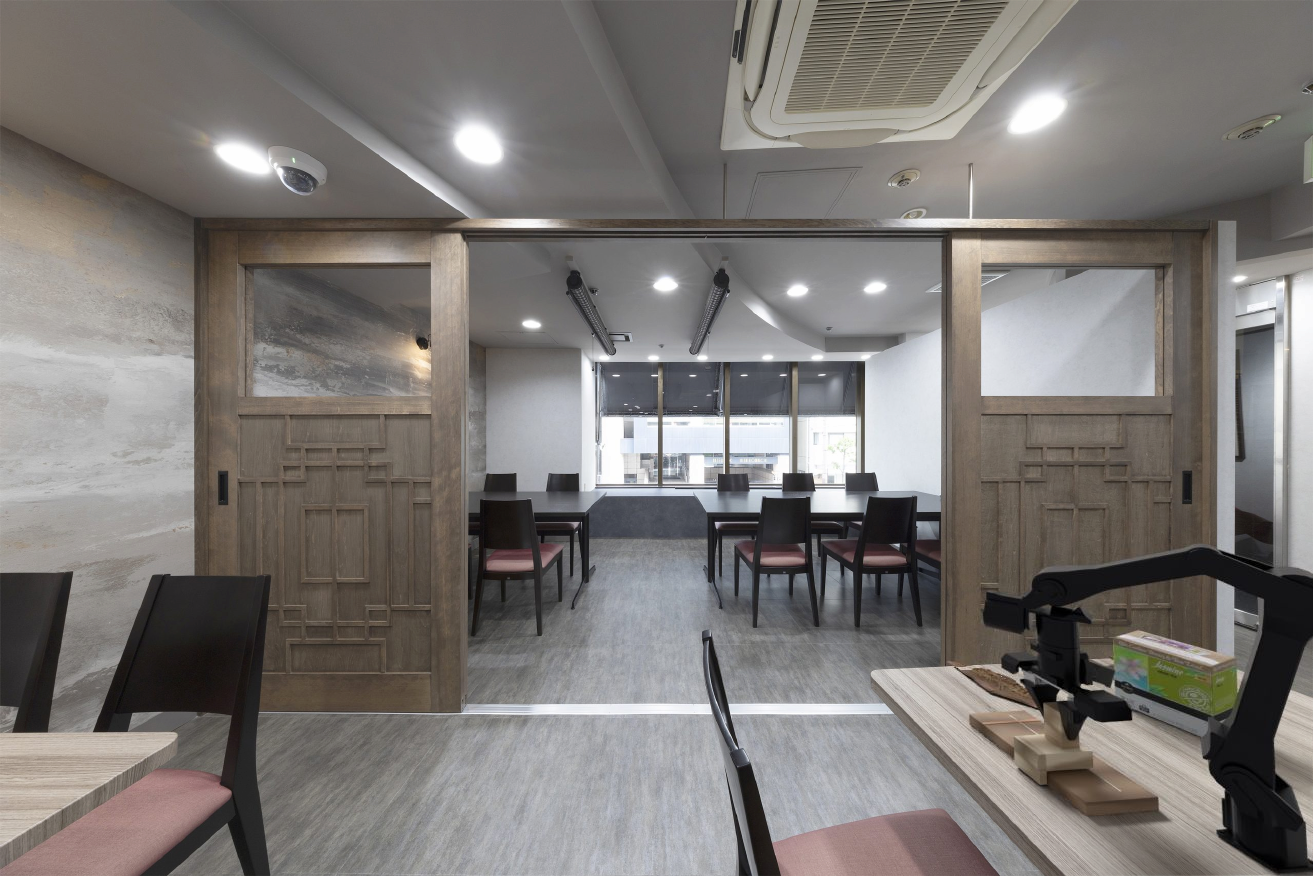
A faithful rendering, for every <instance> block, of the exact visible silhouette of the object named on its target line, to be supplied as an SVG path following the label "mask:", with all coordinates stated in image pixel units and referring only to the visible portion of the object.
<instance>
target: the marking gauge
mask: <svg viewBox="0 0 1313 876" xmlns="http://www.w3.org/2000/svg"><path fill="white" fill-rule="evenodd" d="M1043 704H1044V718H1043V723H1044V730H1045V734H1039V735H1024V736H1014V758H1015V759H1014V758H1013V759H1014V765H1015V767H1018V769H1019V770H1021V771H1022V772H1024V773H1025V774H1026V775H1027V776H1029V777H1030V778H1031V779H1032V780H1034V782H1036V783H1037V784H1038V785H1047V773H1046V771H1058V770H1072V769H1086V768H1093V755H1094V751H1093V750H1092V749H1091V748H1089V747H1087V746H1086V745H1084V744H1082V743H1081V742H1080V733H1079V734H1078V736H1077V738H1076V740H1074V741H1070V740H1068V739H1067V736H1066V733H1065V731H1064V727H1063V723H1062V720H1061V716H1060V712H1059V709H1058V705H1057V702H1049V703H1043Z"/></svg>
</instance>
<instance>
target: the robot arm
mask: <svg viewBox="0 0 1313 876" xmlns="http://www.w3.org/2000/svg"><path fill="white" fill-rule="evenodd" d="M1197 576H1207V577H1209V578H1212V579H1214V580H1217V581H1219V582H1221V583H1223V584H1226V585H1228V586H1231V587H1233V588H1234V589H1235V588H1236V589H1237V590H1240V591H1242V592H1244V593H1246V594H1249V595H1252V596H1254V597H1257V613H1258V614H1257V615H1258V627H1257V631H1256V635H1255V638H1254V641H1253V644H1252V647H1251V650H1250V653H1249V656H1248V659H1247V662H1246V666H1245V669H1244V672H1243V676H1242V679H1241V681H1240V684H1239V688H1238V694H1237V697H1236V700H1235V703H1234V706H1233V710H1232V713H1231V714H1230V716H1229V717H1228V718H1227V719H1226V720H1224V721H1223V722H1222V723H1221V722H1219V721H1217V720H1215V719H1213V718H1211V717H1208V730H1207V732H1206V734H1205V735H1204V736H1203V737H1200V744H1201V745H1200V746H1201V756H1202V759H1203V760H1206V761H1207V764H1208V771H1209V774H1210V776H1211V777H1212V778H1213V779H1214V781H1215V782H1216V784H1218V785H1219V786H1220V787H1222V788H1223V789H1224V790H1223V791H1224V797H1221V798H1220V799H1221V801H1220V802H1221V813H1222V814H1221V818H1222V822H1221V823H1222V826H1223V828H1220V829H1216V830H1215V831H1216V835H1217V836H1219V837H1220V838H1221V839H1223V840H1225V841H1226V842H1228V843H1230V844H1231V845H1232V846H1234V847H1236V848H1237V849H1238V850H1240V851H1242V852H1243V853H1246V854H1247V855H1248V856H1250V857H1252V858H1253V859H1254V860H1255V861H1257V860H1258V861H1257V862H1259V863H1260V864H1262V865H1263V866H1265V867H1267V868H1268V869H1269V870H1271V871H1273V872H1275V873H1278V874H1284V873H1287V874H1288V873H1296V872H1297V873H1298V872H1306V871H1307V872H1308V871H1313V860H1312V859H1310V858H1309V857H1308V855H1309V853H1308V837H1307V822H1306V821H1305V820H1304V816H1303V814H1302V811H1301V809H1300V806H1299V802H1298V800H1297V797H1296V794H1295V790H1294V788H1293V786H1292V785H1291V784H1290V783H1288V782H1287V781H1286V779H1284V778H1283V777H1281V776H1280V775H1279V774H1278V773H1277V772H1276V755H1275V754H1276V753H1275V738H1276V734H1277V732H1278V729H1279V726H1280V723H1281V720H1282V716H1283V714H1284V712H1285V711H1284V710H1285V709H1286V705H1287V702H1288V698H1289V696H1290V693H1291V690H1292V687H1293V684H1294V681H1295V677H1296V675H1297V672H1298V669H1299V666H1300V664H1301V663H1300V662H1301V661H1302V657H1303V655H1304V650H1305V649H1306V648H1305V647H1306V646H1307V645H1308V644H1309V642H1311V641H1312V640H1313V573H1312V572H1310V571H1309V570H1306V569H1303V568H1300V567H1296V566H1295V567H1294V566H1287V565H1285V566H1273V565H1271V564H1267V563H1264V562H1262V561H1258V560H1255V559H1252V558H1249V557H1245V556H1242V555H1238V554H1234V553H1231V552H1228V551H1225V550H1222V549H1219V548H1217V547H1215V546H1212V545H1210V544H1207V543H1206V544H1205V543H1194V544H1190V545H1188V546H1186V547H1183V548H1176V549H1172V550H1167V551H1161V552H1157V553H1150V554H1147V555H1142V556H1141V555H1140V556H1137V557H1131V558H1126V559H1120V560H1117V561H1111V562H1106V563H1100V564H1093V565H1092V564H1091V565H1086V564H1085V565H1082V564H1081V565H1080V564H1079V565H1078V564H1074V565H1073V564H1068V565H1067V564H1066V565H1050V566H1047V567H1044V568H1042V569H1041V570H1040V571H1039V572H1037V574H1036V575H1035V576H1034V577H1033V579H1032V581H1031V590H1026V592H1025V593H1024V594H1022V595H1015V594H1009V593H1004V592H1000V591H997V590H993V589H989V590H988V591H987V592H986V593H985V601H984V605H983V606H984V608H983V610H982V619H983V620H982V621H983V623H984V626H985V627H986V628H991V629H995V630H999V631H1003V632H1008V633H1013V634H1016V635H1022V636H1023V635H1024V636H1025V633H1026V631H1030V632H1031V631H1032V630H1033V627H1034V617H1035V638H1036V639H1035V640H1036V642H1031V643H1030V650H1033V651H1034V652H1036V655H1033V654H1031V653H1029V652H1027V651H1023V652H1022V651H1021V652H1005V653H1004V654H1003V655H1002V657H1001V659H1000V661H1001V664H1000V665H1001V669H1003V670H1004V671H1006V672H1008V673H1010V674H1011V675H1016V674H1018V673H1020V671H1021V672H1022V675H1023V678H1020V679H1019V683H1020V684H1022V686H1023V687H1024V688H1026V690H1027V691H1028V693H1029V694H1030V696H1031V697H1032V699H1033V701H1034V702H1035V704H1036V706H1037V708H1036V709H1038V711H1039V713H1040V714H1041V716H1042V719H1044V704H1043V703H1049V702H1057V705H1058V709H1059V712H1060V716H1061V720H1062V723H1063V727H1064V731H1065V733H1066V736H1067V739H1068V740H1070V741H1074V740H1076V738H1077V736H1078V734H1079V735H1080V731H1081V730H1082V728H1083V726H1084V724H1085V722H1086V720H1087V718H1089V719H1091V720H1092V721H1095V722H1097V723H1101V724H1102V723H1119V722H1132V721H1133V709H1132V708H1131V706H1130V705H1129V704H1128V703H1127V702H1126V701H1125V700H1123V699H1121V698H1119V697H1117V696H1115V694H1113V693H1110V692H1109V691H1107V690H1105V689H1094V690H1090V689H1088V688H1084V687H1082V685H1085V686H1093V685H1094V683H1096V684H1100V685H1104V687H1106V688H1109V689H1112V685H1113V683H1114V674H1115V670H1114V669H1112V668H1109V667H1107V666H1108V665H1105V664H1102V663H1100V662H1097V661H1095V660H1093V659H1090V657H1089V655H1088V653H1087V652H1085V651H1083V650H1081V645H1080V644H1081V641H1080V624H1079V623H1082V624H1087V625H1091V624H1093V622H1094V619H1095V616H1094V615H1093V614H1092V613H1090V612H1089V611H1088V610H1086V609H1085V607H1084V606H1083V605H1082V604H1078V605H1077V606H1076V607H1073V608H1072V607H1067V606H1068V605H1072V604H1075V603H1077V602H1080V601H1083V600H1086V599H1090V598H1091V597H1093V596H1096V595H1098V594H1101V593H1104V592H1107V591H1111V590H1118V589H1124V588H1130V587H1131V588H1132V587H1136V586H1142V585H1148V584H1155V583H1161V582H1167V581H1173V580H1179V579H1186V578H1190V577H1197ZM1045 606H1051V607H1045ZM1034 614H1035V616H1034ZM1020 669H1021V670H1020ZM1060 691H1062V692H1063V693H1065V694H1067V698H1066V700H1065V699H1064V700H1058V699H1057V697H1058V694H1059V693H1060Z"/></svg>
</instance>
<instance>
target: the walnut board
mask: <svg viewBox="0 0 1313 876" xmlns="http://www.w3.org/2000/svg"><path fill="white" fill-rule="evenodd" d="M968 719H969V720H968V721H969V725H970V726H972V727H973V728H974V729H975V730H977V732H979V733H980V734H982V735H983V736H984V737H986V738H987V739H988V740H989V741H991V742H992V743H993V744H995V745H996V746H997V747H998V748H1000V750H1002V751H1003V752H1004V753H1006V754H1007V755H1009V756H1010V757H1011V759H1014V760H1015V758H1014V736H1024V735H1039V734H1045V730H1044V721H1042V720H1041V719H1039V718H1037V717H1036V716H1033V715H1032V714H1031V713H1029V712H1028V711H1027V710H1011V711H1009V710H1008V711H1007V710H1006V711H996V712H995V711H993V712H978V713H977V712H976V713H969V714H968ZM1046 773H1047V784H1046V786H1048V787H1049V788H1050V789H1051V790H1053V791H1054V792H1056V793H1057V794H1058V795H1059V796H1061V797H1062V798H1063V799H1065V800H1066V801H1067V802H1068V803H1069V804H1071V805H1072V806H1073V807H1075V809H1077V810H1078V811H1080V812H1081V813H1082V814H1084V816H1086V817H1092V816H1106V815H1116V814H1128V813H1129V814H1130V813H1141V812H1152V811H1160V803H1159V800H1160V799H1159V796H1158V795H1156V794H1154V793H1153V792H1152V791H1150V790H1149V789H1146V788H1145V787H1144V786H1142V785H1141V784H1140V783H1137V782H1136V781H1135V780H1132V779H1131V778H1129V776H1127V775H1125V774H1124V773H1122V772H1121V771H1119V770H1117V769H1116V768H1114V767H1112V766H1111V765H1109V764H1108V763H1107V762H1105V761H1104V760H1102V759H1100V758H1099V757H1097V756H1096V755H1094V754H1093V768H1086V769H1072V770H1058V771H1046Z"/></svg>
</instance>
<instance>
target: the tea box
mask: <svg viewBox="0 0 1313 876" xmlns="http://www.w3.org/2000/svg"><path fill="white" fill-rule="evenodd" d="M1112 639H1113V643H1112V644H1113V645H1112V647H1113V649H1112V650H1113V656H1114V661H1113V664H1114V670H1115V674H1114V678H1113V684H1114V695H1115V696H1117V697H1119V698H1121V699H1123V700H1125V701H1126V702H1127V703H1128V704H1129V705H1130V706H1131V708H1132V710H1135V711H1138V712H1139V713H1143V714H1144V715H1147V716H1150V717H1152V718H1155V719H1156V720H1159V721H1161V722H1164V723H1166V724H1169V725H1171V726H1174V727H1176V728H1178V729H1181V730H1183V731H1185V732H1188V733H1190V734H1193V735H1195V736H1198V737H1199V738H1201V737H1203V736H1204V735H1205V734H1206V732H1207V730H1208V717H1211V718H1213V719H1215V720H1217V721H1219V722H1221V723H1222V722H1223V721H1224V720H1226V719H1227V718H1228V717H1229V716H1230V714H1231V713H1232V710H1233V706H1234V703H1235V700H1236V697H1237V694H1238V691H1239V689H1238V670H1237V669H1238V667H1237V666H1238V665H1237V664H1238V663H1237V657H1235V656H1231V655H1227V654H1225V653H1221V652H1217V651H1214V650H1211V649H1210V650H1209V649H1207V648H1202V647H1199V646H1196V645H1192V644H1189V643H1186V642H1182V641H1178V640H1174V639H1172V638H1168V637H1164V636H1160V635H1157V634H1153V633H1149V632H1146V631H1142V630H1138V629H1137V630H1135V631H1131V632H1128V633H1125V634H1120V635H1117V636H1113V637H1112Z"/></svg>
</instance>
